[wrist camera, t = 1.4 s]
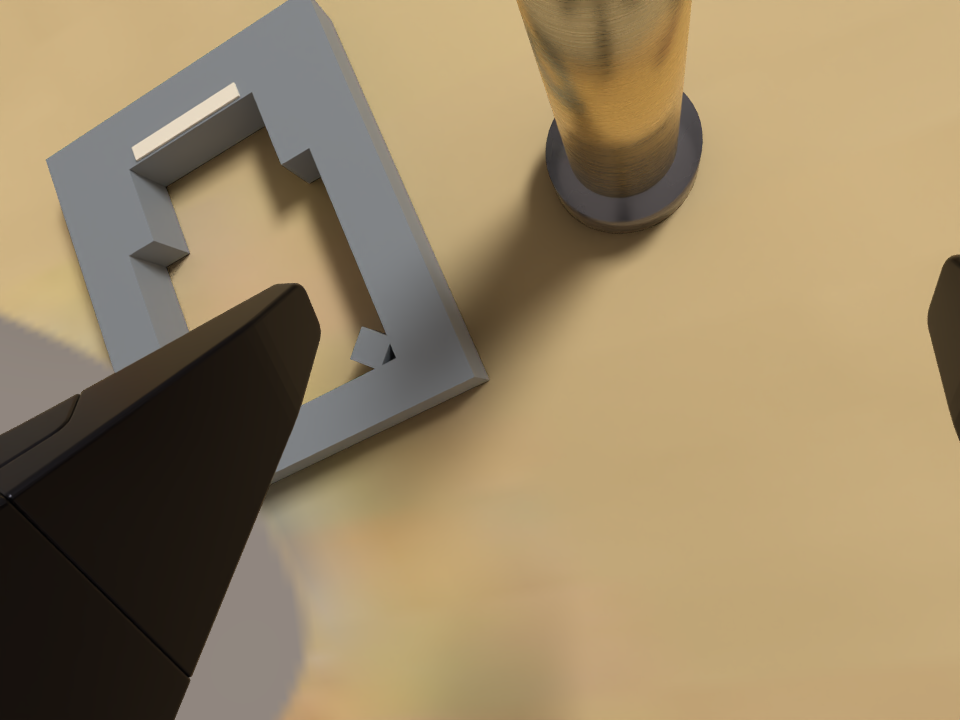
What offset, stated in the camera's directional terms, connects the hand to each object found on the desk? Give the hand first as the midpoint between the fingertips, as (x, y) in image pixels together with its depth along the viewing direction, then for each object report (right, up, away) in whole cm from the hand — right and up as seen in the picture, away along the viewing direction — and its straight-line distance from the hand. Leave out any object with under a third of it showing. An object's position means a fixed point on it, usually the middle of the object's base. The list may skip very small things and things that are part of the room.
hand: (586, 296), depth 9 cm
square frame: (-10, +3, +16) cm, 19 cm away
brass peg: (+3, +6, +13) cm, 15 cm away
